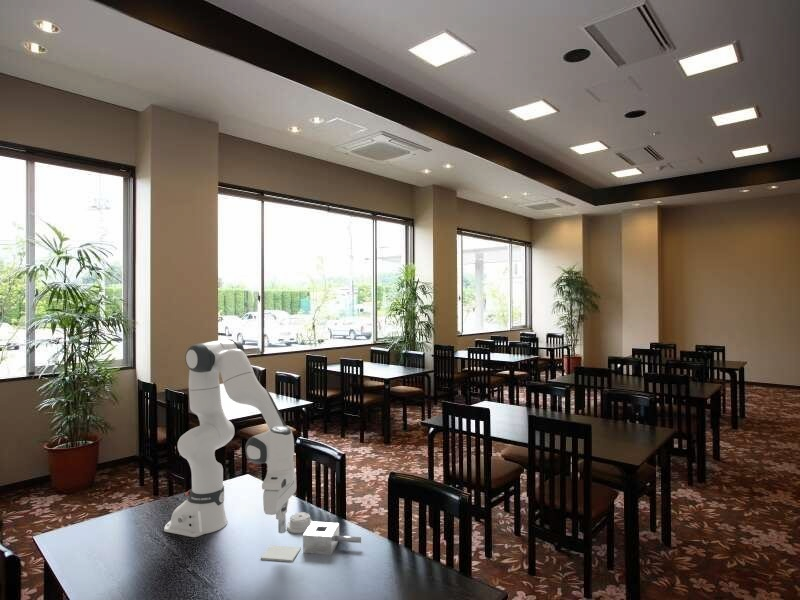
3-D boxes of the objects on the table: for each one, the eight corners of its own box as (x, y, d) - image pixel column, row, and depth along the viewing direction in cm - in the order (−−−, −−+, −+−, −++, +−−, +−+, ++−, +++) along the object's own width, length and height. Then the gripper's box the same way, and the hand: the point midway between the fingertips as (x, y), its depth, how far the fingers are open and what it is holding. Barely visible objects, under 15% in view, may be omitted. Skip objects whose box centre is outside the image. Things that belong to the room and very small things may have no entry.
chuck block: (303, 552, 161) (303, 534, 161) (312, 537, 170) (312, 521, 170) (357, 556, 158) (357, 538, 158) (363, 541, 168) (363, 524, 168)
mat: (260, 559, 156) (260, 557, 156) (270, 547, 164) (270, 545, 164) (292, 561, 155) (292, 560, 155) (300, 549, 163) (300, 547, 163)
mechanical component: (309, 534, 173) (316, 521, 183) (309, 522, 173) (316, 510, 183) (283, 533, 174) (291, 521, 184) (283, 521, 174) (291, 509, 184)
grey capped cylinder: (275, 533, 158) (275, 506, 158) (279, 529, 161) (279, 502, 161) (284, 534, 158) (284, 507, 158) (288, 529, 161) (288, 503, 161)
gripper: (283, 464, 170) (284, 502, 170) (259, 486, 150) (259, 529, 150) (300, 465, 169) (301, 503, 169) (278, 487, 149) (278, 530, 149)
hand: (281, 516), depth 159 cm, fingers closed on grey capped cylinder, 2 cm apart
